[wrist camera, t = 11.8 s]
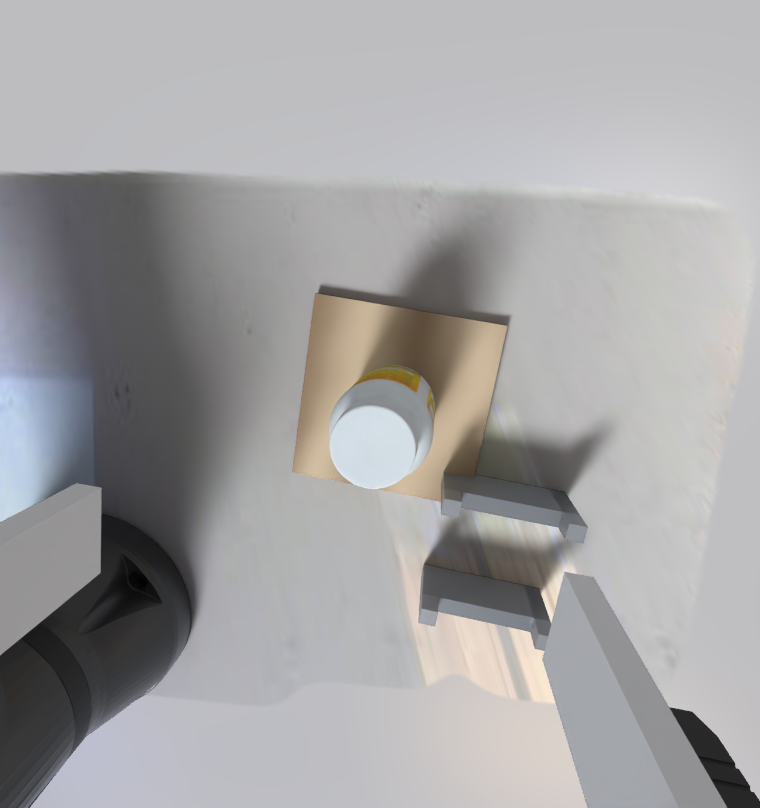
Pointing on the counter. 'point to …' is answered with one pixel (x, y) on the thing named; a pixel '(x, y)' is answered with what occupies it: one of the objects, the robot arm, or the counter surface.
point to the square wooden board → (410, 347)
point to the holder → (486, 594)
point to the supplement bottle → (382, 427)
